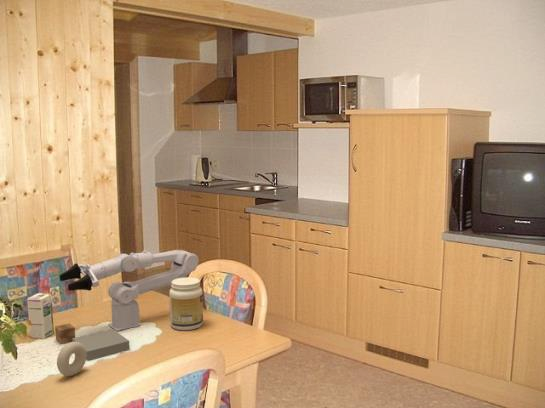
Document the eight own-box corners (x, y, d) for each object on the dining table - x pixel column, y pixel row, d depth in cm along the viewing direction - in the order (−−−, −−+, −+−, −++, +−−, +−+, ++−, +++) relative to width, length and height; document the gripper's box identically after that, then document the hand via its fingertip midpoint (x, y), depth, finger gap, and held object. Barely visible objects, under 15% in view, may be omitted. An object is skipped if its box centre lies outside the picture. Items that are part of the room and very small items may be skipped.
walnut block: (70, 336, 194) (69, 323, 193) (75, 341, 190) (74, 327, 189) (55, 340, 190) (55, 326, 190) (60, 344, 187) (59, 330, 186)
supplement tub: (207, 328, 202) (207, 283, 199) (175, 333, 196) (174, 287, 194) (197, 317, 213) (196, 274, 210) (166, 322, 207) (164, 278, 205)
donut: (81, 367, 169) (80, 335, 168) (89, 369, 168) (88, 338, 166) (55, 380, 160) (53, 347, 159) (63, 382, 159) (61, 349, 157)
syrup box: (44, 339, 191) (42, 298, 189) (29, 337, 193) (26, 297, 191) (54, 332, 197) (51, 293, 195) (39, 331, 198) (36, 292, 196)
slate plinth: (112, 336, 193) (112, 328, 193) (129, 349, 182) (129, 340, 182) (72, 346, 185) (72, 338, 184) (87, 360, 174) (87, 351, 173)
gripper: (92, 252, 200) (54, 264, 192) (109, 269, 190) (70, 282, 182) (94, 269, 203) (57, 281, 195) (111, 286, 193) (73, 300, 185)
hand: (64, 282), depth 188 cm, fingers open, 7 cm apart
